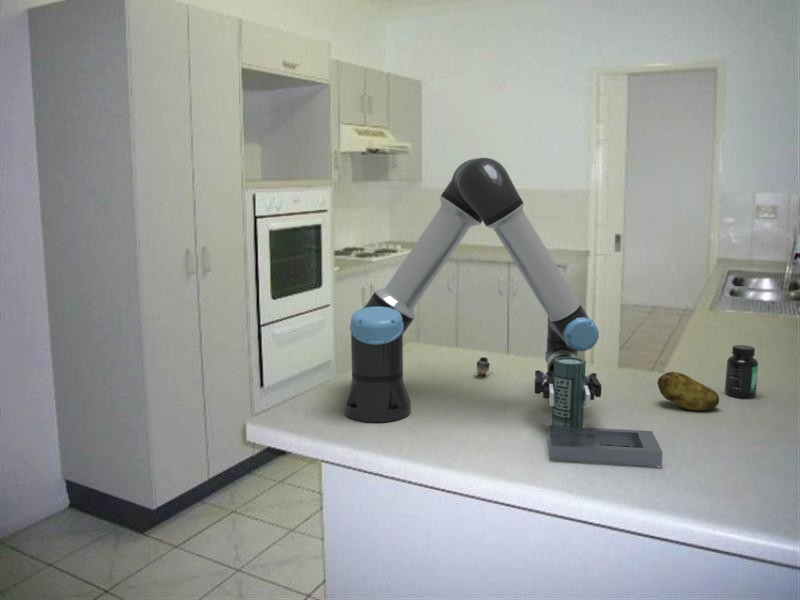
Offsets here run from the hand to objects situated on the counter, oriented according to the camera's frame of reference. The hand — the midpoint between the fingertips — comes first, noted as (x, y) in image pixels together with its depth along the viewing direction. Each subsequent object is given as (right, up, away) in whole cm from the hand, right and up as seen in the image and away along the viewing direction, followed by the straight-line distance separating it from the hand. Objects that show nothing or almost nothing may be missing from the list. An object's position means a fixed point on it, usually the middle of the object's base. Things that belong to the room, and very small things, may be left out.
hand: (570, 400), depth 141 cm
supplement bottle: (+49, -3, +30) cm, 57 cm away
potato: (+32, -5, +21) cm, 39 cm away
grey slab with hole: (+5, -9, -5) cm, 12 cm away
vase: (-12, -1, +47) cm, 48 cm away
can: (+1, -7, +6) cm, 10 cm away
